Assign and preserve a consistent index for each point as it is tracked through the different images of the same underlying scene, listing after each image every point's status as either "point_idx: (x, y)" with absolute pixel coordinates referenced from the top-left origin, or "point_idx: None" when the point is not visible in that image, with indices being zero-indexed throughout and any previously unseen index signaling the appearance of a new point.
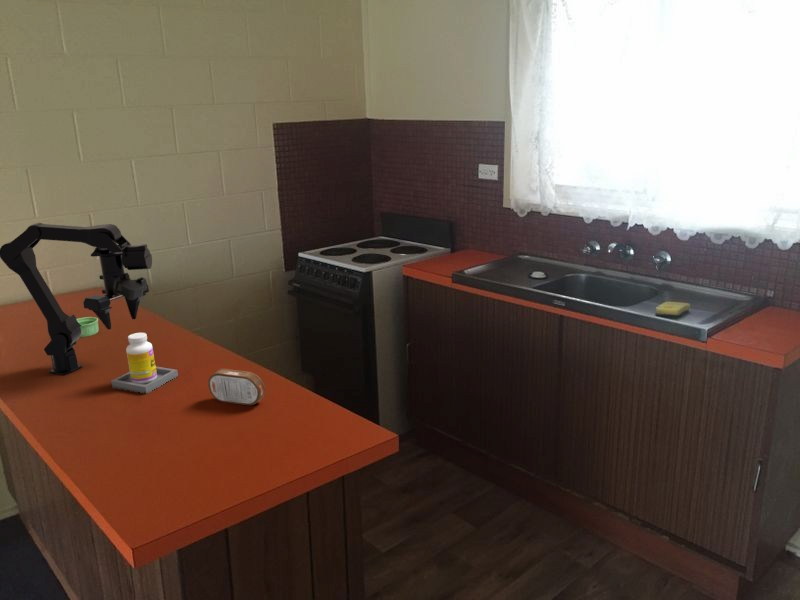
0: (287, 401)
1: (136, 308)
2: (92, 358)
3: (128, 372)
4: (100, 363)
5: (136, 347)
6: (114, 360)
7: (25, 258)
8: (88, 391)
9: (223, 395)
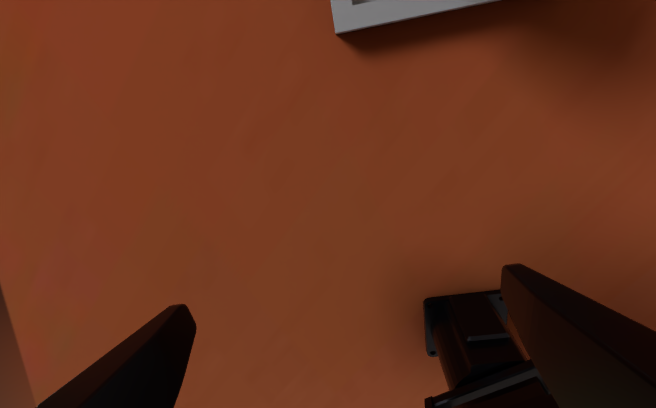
0: None
1: (69, 400)
2: (352, 331)
3: (458, 3)
4: (369, 278)
5: None
6: (325, 261)
7: None
8: (627, 64)
9: None
